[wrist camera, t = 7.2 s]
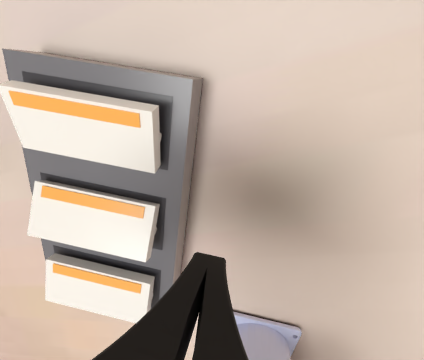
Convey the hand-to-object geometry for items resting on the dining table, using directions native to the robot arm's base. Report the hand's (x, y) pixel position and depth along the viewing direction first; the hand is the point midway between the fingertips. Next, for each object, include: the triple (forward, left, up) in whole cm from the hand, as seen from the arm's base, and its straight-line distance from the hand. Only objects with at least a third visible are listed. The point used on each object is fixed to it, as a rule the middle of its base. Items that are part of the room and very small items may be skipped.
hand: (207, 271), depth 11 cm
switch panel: (-3, +9, -9) cm, 13 cm away
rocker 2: (-10, +9, -6) cm, 15 cm away
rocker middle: (-3, +9, -6) cm, 11 cm away
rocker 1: (+4, +9, -6) cm, 11 cm away
